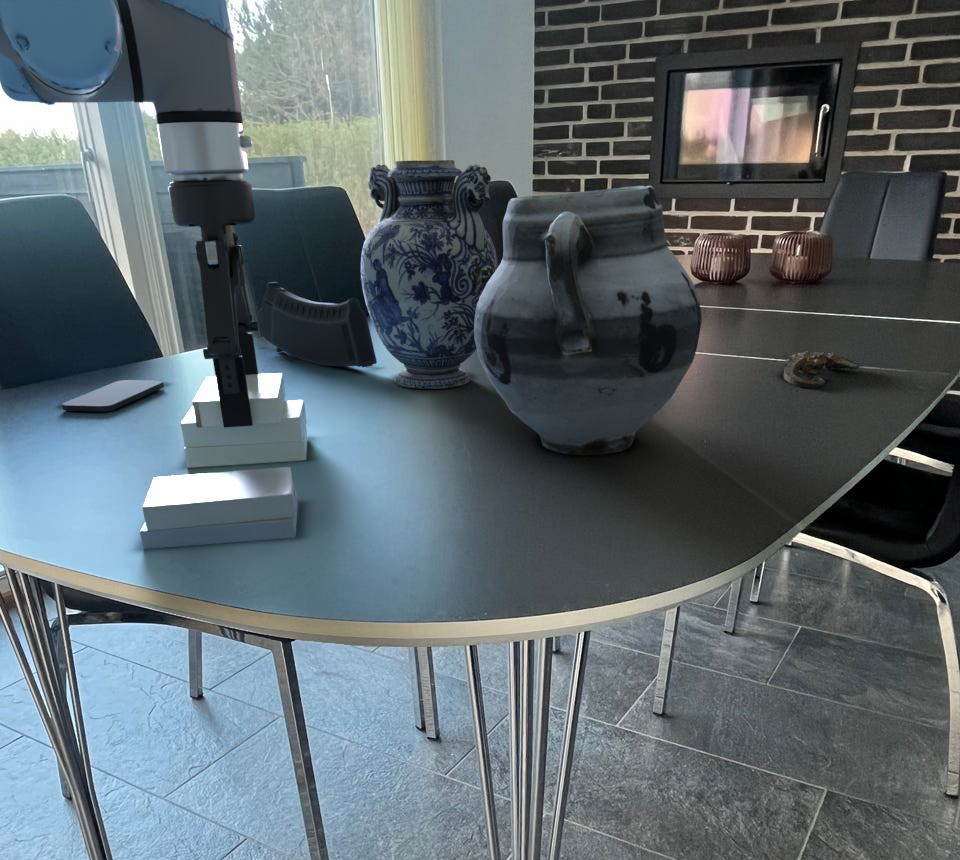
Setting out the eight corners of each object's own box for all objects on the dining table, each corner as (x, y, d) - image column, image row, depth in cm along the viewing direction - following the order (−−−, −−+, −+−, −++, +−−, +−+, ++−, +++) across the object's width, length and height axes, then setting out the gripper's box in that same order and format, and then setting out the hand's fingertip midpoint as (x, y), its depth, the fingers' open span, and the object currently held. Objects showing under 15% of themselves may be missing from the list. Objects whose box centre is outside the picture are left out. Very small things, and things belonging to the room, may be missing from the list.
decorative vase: (531, 379, 125) (534, 157, 111) (446, 404, 112) (437, 158, 99) (423, 363, 137) (413, 161, 124) (335, 384, 124) (314, 162, 111)
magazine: (382, 311, 125) (276, 237, 140) (364, 313, 123) (258, 239, 139) (372, 418, 136) (275, 339, 152) (355, 421, 135) (258, 342, 150)
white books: (188, 472, 88) (179, 424, 86) (198, 450, 96) (190, 405, 93) (308, 465, 90) (302, 416, 88) (309, 443, 97) (303, 398, 95)
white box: (144, 555, 69) (133, 507, 67) (161, 519, 77) (152, 475, 75) (298, 543, 71) (292, 496, 69) (300, 509, 78) (295, 465, 76)
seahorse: (754, 379, 121) (757, 357, 120) (814, 362, 131) (817, 341, 129) (814, 390, 115) (818, 366, 114) (872, 371, 125) (877, 349, 123)
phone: (57, 405, 113) (119, 379, 125) (58, 411, 113) (121, 385, 126) (108, 406, 111) (166, 380, 124) (110, 412, 112) (167, 386, 125)
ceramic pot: (676, 497, 79) (704, 188, 67) (439, 480, 85) (426, 193, 73) (698, 419, 103) (721, 182, 91) (512, 410, 109) (512, 186, 97)
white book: (196, 427, 85) (192, 401, 83) (210, 400, 95) (206, 376, 94) (280, 422, 86) (277, 397, 85) (285, 396, 96) (282, 372, 95)
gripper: (239, 177, 70) (274, 438, 80) (258, 177, 91) (284, 383, 102) (142, 179, 69) (191, 443, 79) (185, 178, 90) (219, 386, 101)
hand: (243, 410), depth 90 cm, fingers open, 12 cm apart
